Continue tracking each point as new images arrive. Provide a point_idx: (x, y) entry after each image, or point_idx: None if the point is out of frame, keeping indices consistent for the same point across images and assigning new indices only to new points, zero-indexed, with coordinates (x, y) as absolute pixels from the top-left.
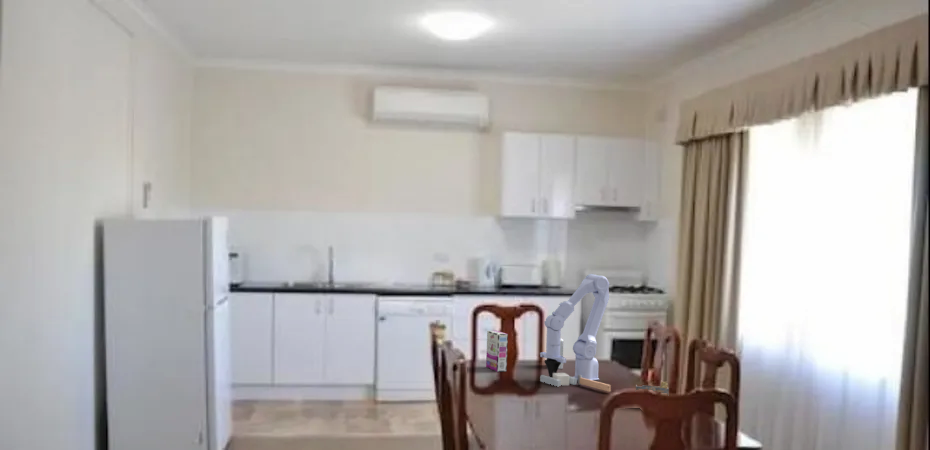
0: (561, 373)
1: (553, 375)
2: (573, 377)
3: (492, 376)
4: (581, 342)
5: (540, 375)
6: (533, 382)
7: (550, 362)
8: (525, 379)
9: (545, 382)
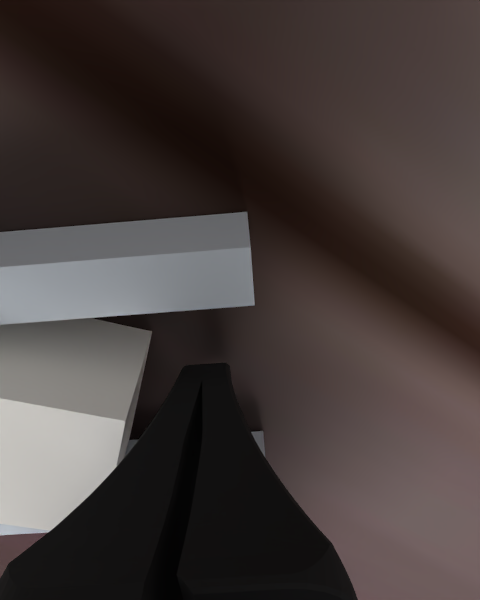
0: (55, 493)
1: (95, 388)
2: (4, 530)
3: None
4: None
5: (249, 244)
6: (220, 50)
7: (18, 595)
8: (475, 47)
9: (122, 223)
